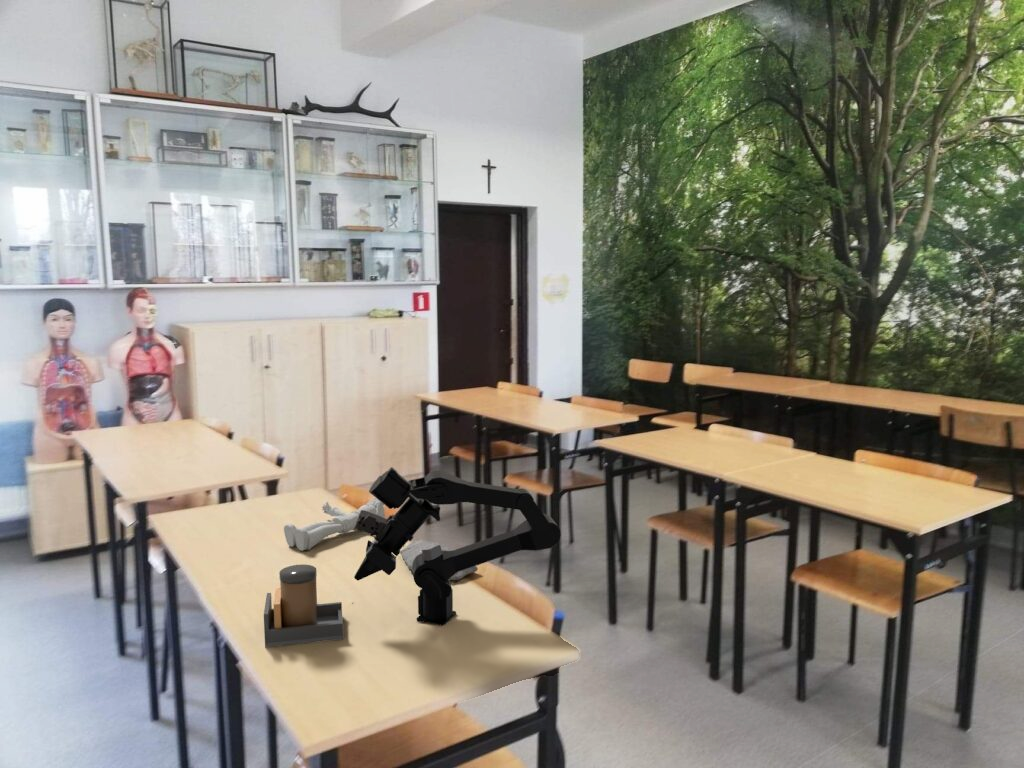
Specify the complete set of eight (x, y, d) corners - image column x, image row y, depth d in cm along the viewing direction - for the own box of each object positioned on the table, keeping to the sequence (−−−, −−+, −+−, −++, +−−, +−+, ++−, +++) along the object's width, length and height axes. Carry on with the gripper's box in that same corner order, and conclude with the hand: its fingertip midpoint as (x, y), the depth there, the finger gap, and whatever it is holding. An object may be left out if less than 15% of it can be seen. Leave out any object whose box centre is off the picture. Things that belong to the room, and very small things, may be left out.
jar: (320, 619, 164) (318, 563, 162) (315, 635, 157) (313, 577, 155) (285, 621, 163) (283, 565, 161) (278, 637, 156) (276, 578, 154)
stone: (490, 575, 192) (432, 548, 211) (490, 554, 191) (432, 528, 210) (436, 590, 182) (381, 559, 201) (437, 567, 181) (381, 539, 200)
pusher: (283, 620, 163) (281, 587, 162) (281, 637, 155) (279, 604, 154) (277, 620, 163) (275, 588, 162) (275, 638, 155) (273, 604, 154)
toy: (258, 513, 218) (346, 485, 240) (261, 541, 219) (348, 511, 241) (331, 539, 196) (420, 506, 218) (333, 571, 198) (421, 534, 220)
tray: (341, 616, 167) (341, 586, 166) (343, 639, 157) (342, 606, 156) (268, 624, 164) (267, 593, 163) (265, 647, 153) (263, 614, 152)
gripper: (378, 487, 171) (330, 541, 170) (374, 508, 152) (320, 568, 152) (417, 520, 172) (369, 573, 172) (417, 544, 154) (364, 604, 154)
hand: (355, 578), depth 162 cm, fingers closed
